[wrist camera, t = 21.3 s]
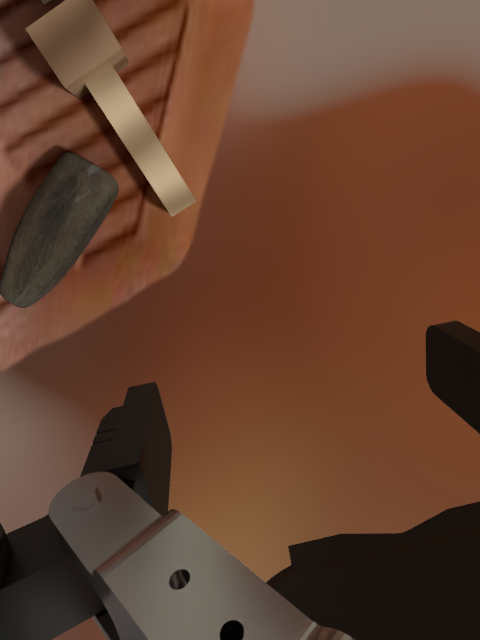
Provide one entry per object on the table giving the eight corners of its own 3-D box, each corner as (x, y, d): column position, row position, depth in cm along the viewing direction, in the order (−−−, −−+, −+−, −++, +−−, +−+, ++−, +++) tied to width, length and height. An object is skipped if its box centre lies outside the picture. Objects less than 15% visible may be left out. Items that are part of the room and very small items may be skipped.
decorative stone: (71, 144, 41) (59, 141, 38) (127, 183, 43) (121, 183, 39) (-6, 280, 45) (-24, 290, 41) (49, 311, 47) (36, 323, 43)
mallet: (207, 192, 44) (209, 193, 40) (161, 222, 45) (158, 227, 40) (97, 10, 38) (84, -14, 33) (45, 47, 38) (25, 28, 34)
